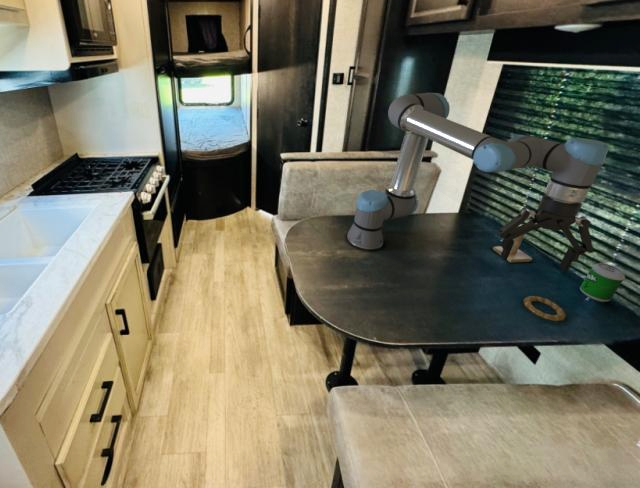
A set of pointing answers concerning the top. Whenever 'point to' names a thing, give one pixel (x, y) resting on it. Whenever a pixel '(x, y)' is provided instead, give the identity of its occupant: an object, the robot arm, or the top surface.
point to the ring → (558, 317)
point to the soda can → (602, 282)
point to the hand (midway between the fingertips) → (532, 263)
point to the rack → (515, 251)
